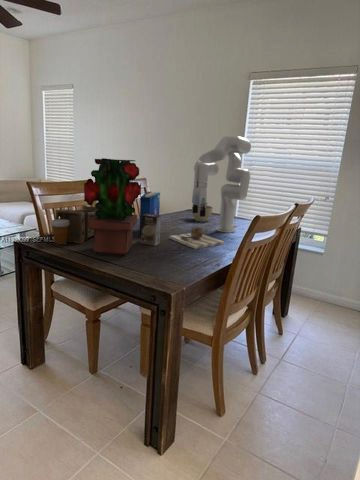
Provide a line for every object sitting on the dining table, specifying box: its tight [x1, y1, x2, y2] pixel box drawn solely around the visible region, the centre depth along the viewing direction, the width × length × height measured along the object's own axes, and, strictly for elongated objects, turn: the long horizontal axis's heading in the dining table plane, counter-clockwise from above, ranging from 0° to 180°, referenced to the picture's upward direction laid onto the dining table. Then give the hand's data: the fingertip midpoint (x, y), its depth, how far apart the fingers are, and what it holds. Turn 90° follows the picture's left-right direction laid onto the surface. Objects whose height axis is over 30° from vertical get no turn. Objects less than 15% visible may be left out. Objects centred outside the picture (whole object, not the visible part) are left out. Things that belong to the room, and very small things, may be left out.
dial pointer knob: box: [181, 226, 203, 239], centre depth 192 cm, size 12×5×6 cm, turn 108°
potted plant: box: [83, 157, 142, 257], centre depth 159 cm, size 22×22×45 cm
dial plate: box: [168, 232, 225, 250], centre depth 194 cm, size 22×24×2 cm
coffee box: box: [140, 214, 162, 247], centre depth 182 cm, size 9×6×16 cm
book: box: [139, 191, 161, 236], centre depth 203 cm, size 22×7×25 cm, turn 168°
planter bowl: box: [191, 205, 214, 223], centre depth 254 cm, size 16×16×11 cm
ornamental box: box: [54, 205, 99, 245], centre depth 190 cm, size 35×18×18 cm, turn 162°
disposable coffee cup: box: [50, 219, 70, 245], centre depth 172 cm, size 10×10×12 cm
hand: (198, 214), depth 191 cm, fingers open, 9 cm apart
